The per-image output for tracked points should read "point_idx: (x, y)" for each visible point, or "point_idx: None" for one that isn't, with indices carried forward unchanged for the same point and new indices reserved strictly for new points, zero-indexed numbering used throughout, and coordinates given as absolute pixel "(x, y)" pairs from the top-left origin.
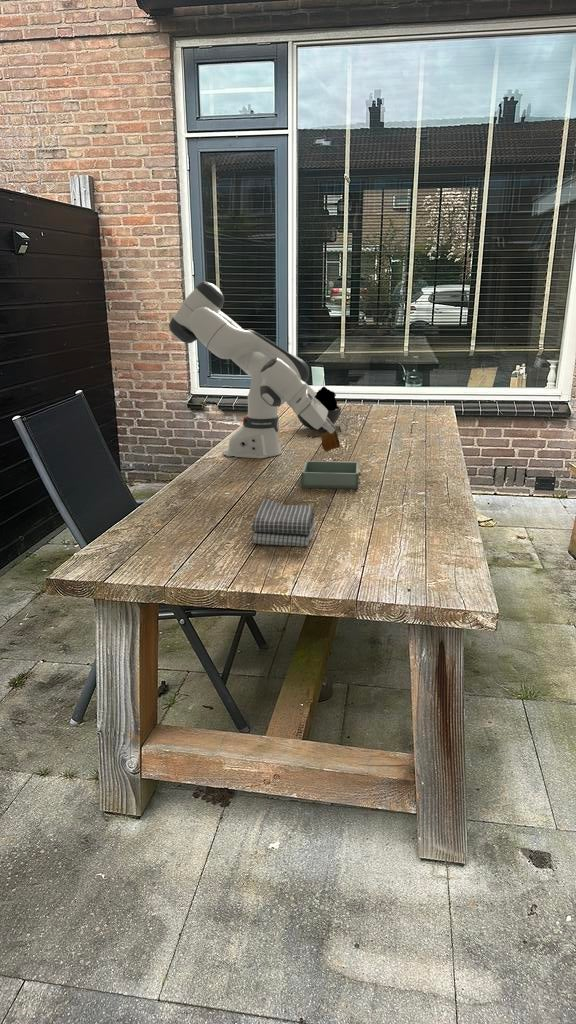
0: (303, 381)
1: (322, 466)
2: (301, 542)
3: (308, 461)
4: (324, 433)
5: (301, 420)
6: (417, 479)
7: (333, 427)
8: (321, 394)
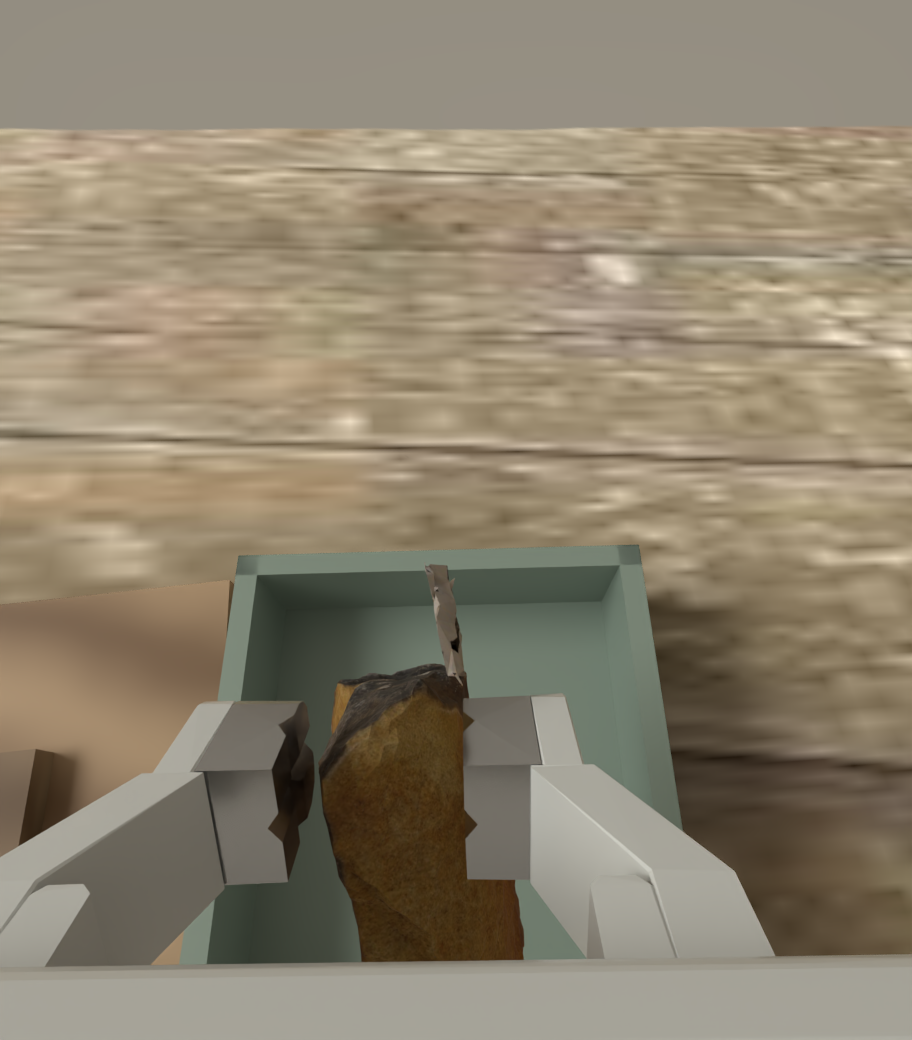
0: None
1: (228, 931)
2: None
3: None
4: (388, 956)
5: None
6: (344, 279)
7: (296, 734)
8: None
